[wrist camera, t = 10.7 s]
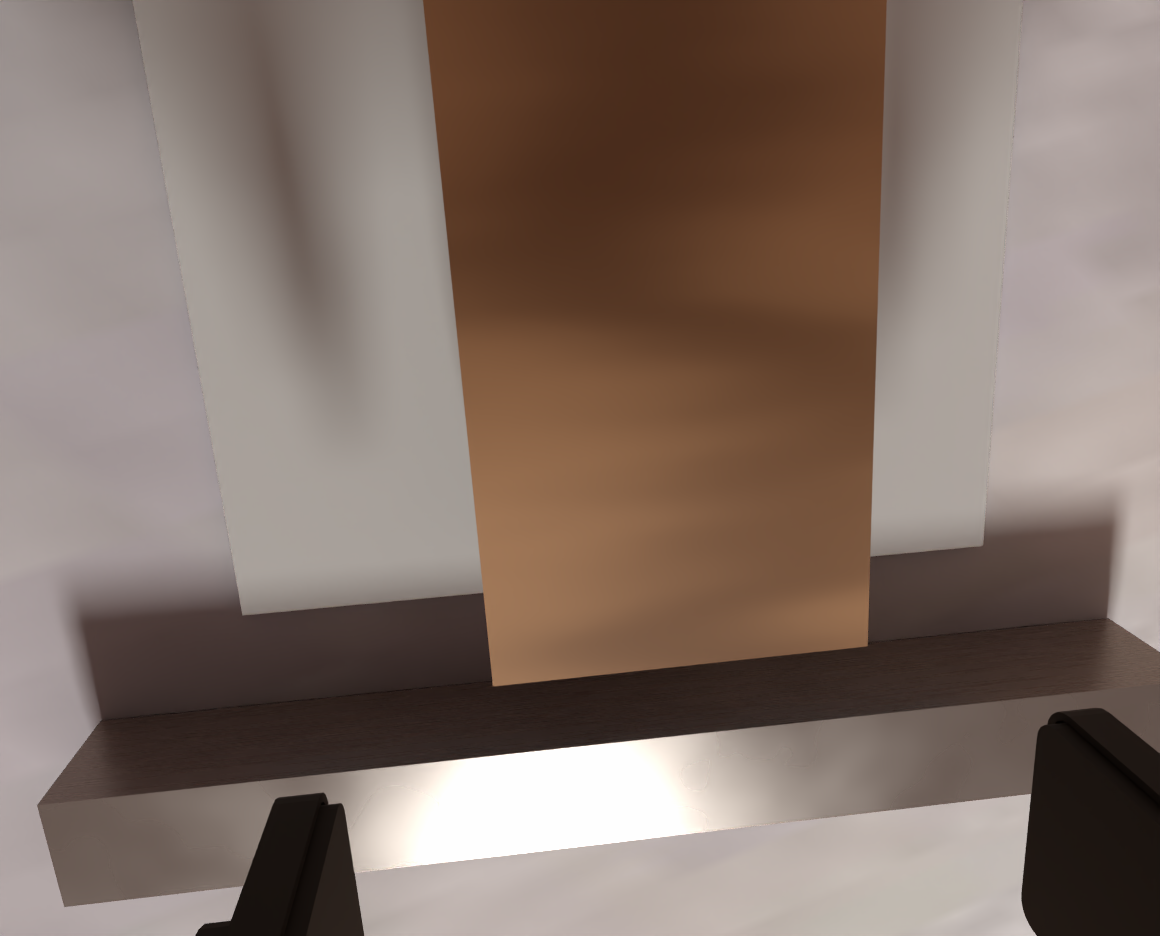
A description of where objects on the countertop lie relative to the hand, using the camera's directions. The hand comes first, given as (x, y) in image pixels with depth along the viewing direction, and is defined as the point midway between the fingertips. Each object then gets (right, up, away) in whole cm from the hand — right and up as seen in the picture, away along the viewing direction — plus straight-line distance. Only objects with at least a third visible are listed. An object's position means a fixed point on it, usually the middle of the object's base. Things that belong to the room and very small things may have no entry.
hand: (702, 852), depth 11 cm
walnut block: (0, +3, +3) cm, 4 cm away
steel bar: (-1, 0, +7) cm, 7 cm away
